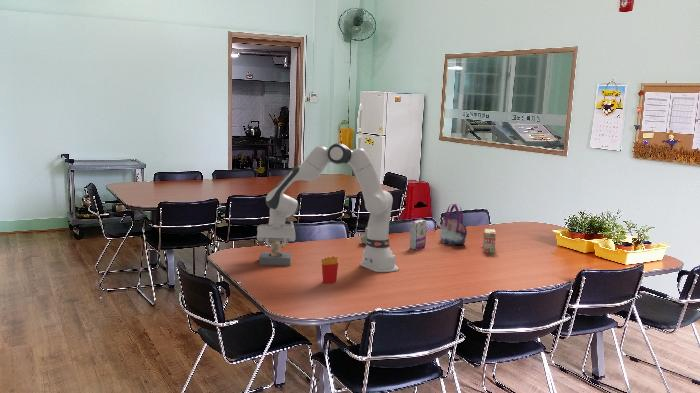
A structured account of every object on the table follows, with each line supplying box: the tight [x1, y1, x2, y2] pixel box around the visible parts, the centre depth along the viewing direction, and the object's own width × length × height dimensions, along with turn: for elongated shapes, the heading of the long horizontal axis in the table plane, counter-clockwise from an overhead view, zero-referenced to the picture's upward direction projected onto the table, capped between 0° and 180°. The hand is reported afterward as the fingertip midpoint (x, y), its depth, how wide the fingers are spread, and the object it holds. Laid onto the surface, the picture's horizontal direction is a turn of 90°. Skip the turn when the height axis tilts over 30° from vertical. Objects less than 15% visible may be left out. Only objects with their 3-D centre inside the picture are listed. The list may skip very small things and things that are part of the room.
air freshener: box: [360, 226, 368, 246], centre depth 359 cm, size 11×8×10 cm
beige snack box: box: [482, 228, 497, 254], centre depth 358 cm, size 21×6×12 cm, turn 169°
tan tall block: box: [270, 241, 281, 256], centre depth 308 cm, size 4×4×10 cm
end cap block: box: [258, 251, 292, 267], centre depth 309 cm, size 16×12×4 cm
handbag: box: [439, 203, 468, 246], centre depth 369 cm, size 21×10×25 cm, turn 37°
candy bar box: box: [409, 219, 427, 250], centre depth 354 cm, size 11×5×16 cm, turn 143°
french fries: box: [321, 256, 339, 284], centre depth 277 cm, size 8×4×12 cm, turn 124°
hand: (275, 247), depth 307 cm, fingers open, 6 cm apart
